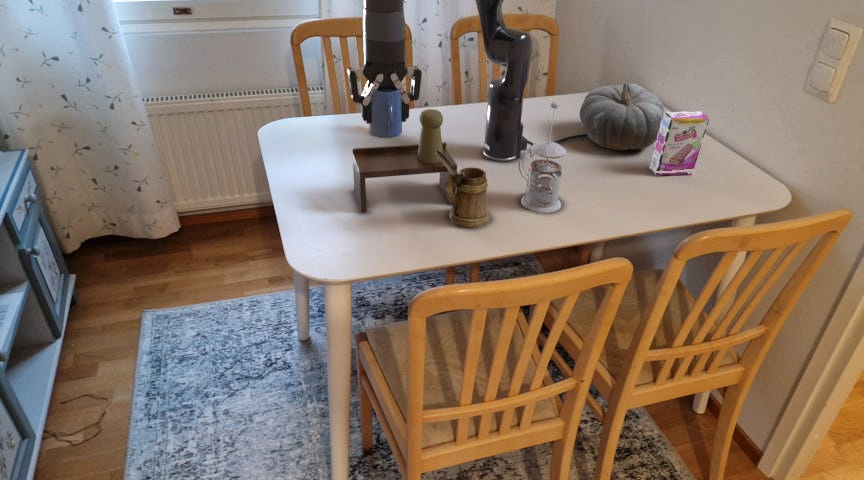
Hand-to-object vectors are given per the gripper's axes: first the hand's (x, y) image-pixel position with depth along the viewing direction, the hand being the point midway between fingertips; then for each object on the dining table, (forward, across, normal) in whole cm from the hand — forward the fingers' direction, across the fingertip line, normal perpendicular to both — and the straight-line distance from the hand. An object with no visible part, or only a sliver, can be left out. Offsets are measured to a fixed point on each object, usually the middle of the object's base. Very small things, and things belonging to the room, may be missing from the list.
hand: (385, 121), depth 125 cm
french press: (+24, +37, +4) cm, 45 cm away
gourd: (+24, +76, +34) cm, 87 cm away
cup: (+2, 0, 0) cm, 2 cm away
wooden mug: (+24, +17, 0) cm, 29 cm away
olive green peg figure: (+14, +12, +12) cm, 22 cm away
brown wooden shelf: (+24, +6, +12) cm, 28 cm away
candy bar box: (+24, +80, +13) cm, 85 cm away
